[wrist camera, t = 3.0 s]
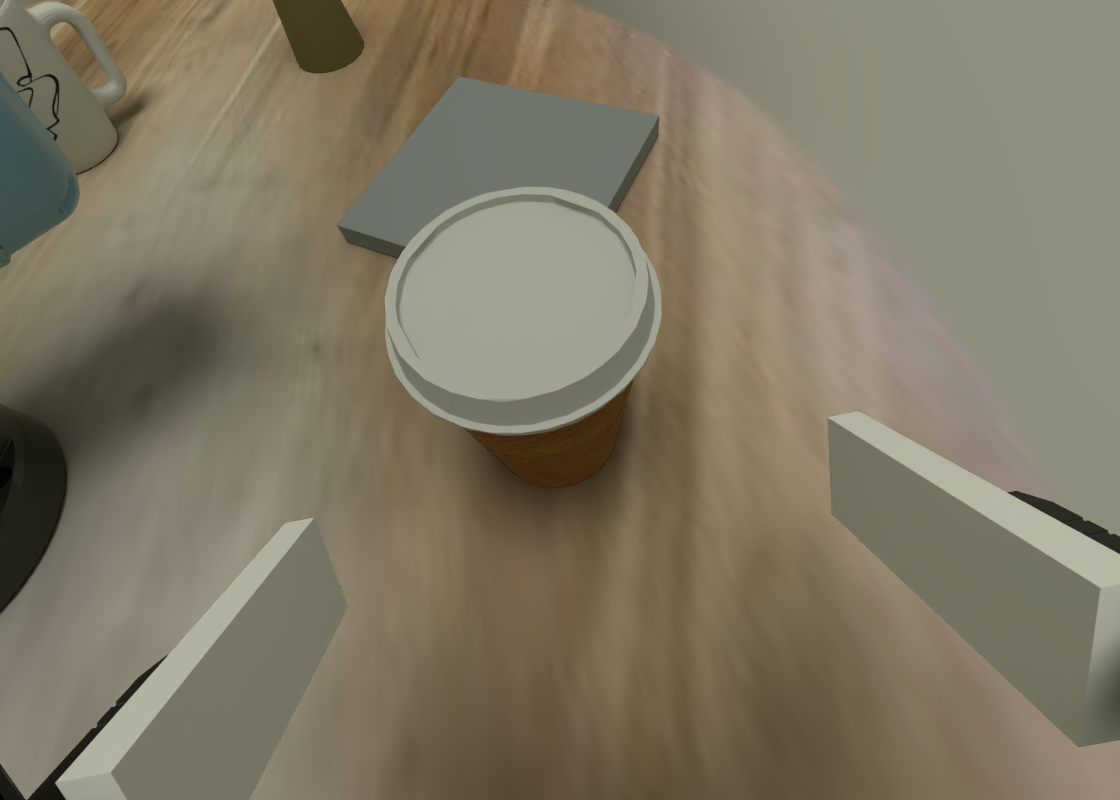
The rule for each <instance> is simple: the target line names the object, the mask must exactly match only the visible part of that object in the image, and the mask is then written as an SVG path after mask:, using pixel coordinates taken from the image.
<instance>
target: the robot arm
mask: <svg viewBox="0 0 1120 800" xmlns="http://www.w3.org/2000/svg"><path fill="white" fill-rule="evenodd" d="M79 194H80V192H79V183H78V179H77V176H76V174H75V172H74V169H73V167H72V165H71V164H70V162H69V160H68V159H67V157H66V156H65V154H64V153H63V151H62V150H61V148H60V147H59V146H58V144H57V143H56V141H55V140H54V139H53V137H52V136H51V135H50V133H49V132H48V131H47V130H46V128H45V127H44V126H43V124H42V123H41V122H40V120H39V119H38V118H37V117H36V115H35V114H34V113H33V112H32V110H31V109H30V108H29V106H28V105H27V104H26V103H25V101H24V100H23V99H22V98H21V96H20V95H19V94H18V93H17V91H16V90H15V89H14V88H13V87H12V85H11V84H10V83H9V82H8V80H7V79H6V78H5V77H4V75H3V74H2V73H1V72H0V268H3V267H4V266H6V265H8V264H9V263H10V260H11V255H12V254H13V253H15V252H16V251H18V250H19V249H21V248H22V247H24V246H26V245H27V244H29V243H30V242H32V241H33V240H35V239H36V238H38V237H39V236H41V235H43V234H44V233H46V232H47V231H49V230H50V229H52V228H53V227H55V226H56V225H58V224H60V223H61V222H63V221H64V220H65V219H67V218H68V217H69V216H70V215H71V214H72V213H73V211H74V210H75V208H76V206H77V204H78V201H79ZM828 441H829V465H830V488H831V512H832V515H833V516H834V517H835V518H836V519H838V520H839V521H840V522H841V523H842V524H843V525H844V526H845V527H846V528H847V529H848V530H849V531H850V532H851V533H852V534H853V535H854V536H855V537H857V538H858V539H859V540H860V541H861V542H862V543H863V544H864V545H865V546H866V547H867V548H868V549H869V550H870V551H871V552H872V553H873V554H875V555H876V556H877V557H878V558H879V559H880V560H881V561H882V562H883V563H884V564H885V565H886V566H887V567H888V568H889V569H890V570H891V571H892V572H894V573H895V574H896V575H897V576H898V577H899V578H900V579H901V580H902V581H903V582H904V583H905V584H906V585H907V586H908V587H909V588H910V589H912V590H913V591H914V592H915V593H916V594H917V595H918V596H919V597H920V598H921V599H922V600H923V601H924V602H925V603H926V604H927V605H928V606H929V607H931V608H932V609H933V610H934V611H935V612H936V613H937V614H938V615H939V616H940V617H941V618H942V619H943V620H944V621H945V622H946V623H947V624H949V625H950V626H951V627H952V628H953V629H954V630H955V631H956V632H957V633H958V634H959V635H960V636H961V637H962V638H963V639H964V640H965V641H966V642H968V643H969V644H970V645H971V646H972V647H973V648H974V649H975V650H976V651H977V652H978V653H979V654H980V655H981V656H982V657H983V658H984V659H985V660H987V661H988V662H989V663H990V664H991V665H992V666H993V667H994V668H995V669H996V670H997V671H998V672H999V673H1000V674H1001V675H1002V676H1003V677H1005V678H1006V679H1007V680H1008V681H1009V682H1010V683H1011V684H1012V685H1013V686H1014V687H1015V688H1016V689H1017V690H1018V691H1019V692H1020V693H1021V694H1022V695H1024V696H1025V697H1026V698H1027V699H1028V700H1029V701H1030V702H1031V703H1032V704H1033V705H1034V706H1035V707H1036V708H1037V709H1038V710H1039V711H1040V712H1042V713H1043V714H1044V715H1045V716H1046V717H1047V718H1048V719H1049V720H1050V721H1051V722H1052V723H1053V724H1054V725H1055V726H1056V727H1057V728H1058V729H1059V730H1061V731H1062V732H1063V733H1064V734H1065V735H1066V736H1067V737H1068V738H1069V739H1070V740H1071V741H1072V742H1073V743H1074V744H1075V745H1076V746H1077V747H1082V746H1088V745H1094V744H1099V743H1105V742H1110V741H1116V740H1120V537H1119V536H1118V535H1116V534H1111V535H1110V534H1109V533H1108V530H1106V529H1104V528H1102V527H1100V526H1098V525H1096V524H1094V523H1092V522H1090V521H1084V520H1083V518H1082V517H1081V516H1079V515H1077V514H1075V513H1073V512H1071V511H1069V510H1067V509H1065V508H1063V507H1061V506H1059V505H1057V504H1056V503H1054V502H1051V501H1048V500H1045V499H1041V498H1038V497H1035V496H1031V495H1028V494H1025V493H1022V492H1018V491H1013V492H1008V493H1007V492H1005V491H1003V490H1001V489H999V488H997V487H996V486H994V485H992V484H990V483H988V482H987V481H985V480H983V479H981V478H979V477H977V476H976V475H974V474H972V473H970V472H968V471H966V470H965V469H963V468H961V467H959V466H957V465H955V464H954V463H952V462H950V461H948V460H946V459H944V458H943V457H941V456H939V455H937V454H935V453H933V452H932V451H930V450H928V449H926V448H924V447H922V446H921V445H919V444H917V443H915V442H913V441H911V440H910V439H908V438H906V437H904V436H902V435H901V434H899V433H897V432H895V431H893V430H891V429H890V428H888V427H886V426H884V425H882V424H880V423H879V422H877V421H875V420H873V419H871V418H869V417H868V416H866V415H864V414H862V413H860V412H858V411H857V412H852V413H847V414H842V415H837V416H832V417H828ZM64 483H65V470H64V461H63V456H62V452H61V449H60V447H59V444H58V442H57V440H56V439H55V437H54V436H53V434H52V433H51V432H50V431H49V429H48V428H47V427H46V426H44V425H43V424H42V423H41V422H39V421H37V420H36V419H34V418H32V417H30V416H27V415H25V414H23V413H20V412H18V411H15V410H13V409H11V408H8V407H6V406H3V405H1V404H0V609H1V608H2V607H3V606H4V605H5V604H6V603H7V601H8V600H9V599H10V598H11V597H12V596H13V594H14V593H15V592H16V591H17V589H18V588H19V587H20V585H21V584H22V583H23V581H24V580H25V578H26V577H27V576H28V574H29V573H30V571H31V570H32V568H33V567H34V565H35V563H36V562H37V560H38V558H39V557H40V555H41V553H42V551H43V549H44V547H45V545H46V543H47V541H48V539H49V537H50V535H51V533H52V530H53V528H54V525H55V523H56V520H57V517H58V514H59V510H60V506H61V502H62V497H63V492H64ZM347 608H348V604H347V602H346V599H345V596H344V594H343V591H342V589H341V586H340V583H339V581H338V578H337V575H336V573H335V570H334V568H333V565H332V562H331V560H330V557H329V554H328V552H327V549H326V547H325V544H324V541H323V539H322V536H321V533H320V531H319V528H318V526H317V523H316V520H315V518H309V519H304V520H299V521H294V522H289V523H285V524H284V525H283V526H282V527H281V528H280V529H279V531H278V532H277V533H276V534H275V535H274V536H273V537H272V539H271V540H270V541H269V542H268V543H267V544H266V545H265V546H264V548H263V549H262V550H261V551H260V552H259V553H258V554H257V555H256V557H255V558H254V559H253V560H252V561H251V562H250V563H249V564H248V566H247V567H246V568H245V569H244V570H243V571H242V572H241V574H240V575H239V576H238V577H237V578H236V579H235V580H234V581H233V583H232V584H231V585H230V586H229V587H228V588H227V589H226V590H225V592H224V593H223V594H222V595H221V596H220V597H219V598H218V600H217V601H216V602H215V603H214V604H213V605H212V606H211V607H210V609H209V610H208V611H207V612H206V613H205V614H204V615H203V616H202V618H201V619H200V620H199V621H198V622H197V623H196V624H195V625H194V627H193V628H192V629H191V630H190V631H189V632H188V633H187V635H186V636H185V637H184V638H183V639H182V640H181V641H180V642H179V644H178V645H177V646H176V647H175V648H174V649H173V650H172V651H171V653H170V654H169V655H166V656H165V657H164V658H163V659H161V660H160V661H159V662H158V663H156V664H155V665H154V666H152V667H151V668H150V669H149V670H147V671H146V672H145V673H144V674H142V675H141V676H140V677H138V679H137V680H136V681H135V682H134V683H133V684H132V685H131V686H130V687H129V688H128V690H127V691H126V692H125V693H124V694H123V695H122V696H121V697H120V698H119V699H118V701H117V702H116V706H115V707H111V708H110V709H109V710H108V712H107V713H106V714H105V715H104V716H103V717H102V718H101V719H100V720H99V721H98V723H97V727H96V728H92V729H91V730H90V731H89V733H88V734H87V735H86V736H85V737H84V738H83V739H82V740H81V741H80V742H79V744H78V745H77V746H76V747H75V748H74V749H73V750H72V751H71V752H70V753H69V755H68V756H67V757H66V758H65V759H64V760H63V761H62V762H61V763H60V764H59V766H58V767H57V768H56V769H55V770H54V771H53V772H52V773H51V774H50V775H49V777H48V778H47V779H46V780H45V781H44V782H43V783H42V784H41V785H40V786H39V788H38V789H37V790H36V791H35V792H34V793H33V794H32V795H31V796H30V797H29V799H28V800H249V798H250V796H251V794H252V792H253V790H254V788H255V786H256V785H257V783H258V781H259V779H260V777H261V775H262V773H263V771H264V769H265V767H266V765H267V763H268V761H269V759H270V757H271V755H272V753H273V752H274V750H275V748H276V746H277V744H278V742H279V740H280V738H281V736H282V734H283V732H284V730H285V728H286V726H287V724H288V722H289V720H290V719H291V717H292V715H293V713H294V711H295V709H296V707H297V705H298V703H299V701H300V699H301V697H302V695H303V693H304V691H305V689H306V687H307V686H308V684H309V682H310V680H311V678H312V676H313V674H314V672H315V670H316V668H317V666H318V664H319V662H320V660H321V658H322V656H323V654H324V653H325V651H326V649H327V647H328V645H329V643H330V641H331V639H332V637H333V635H334V633H335V631H336V629H337V627H338V625H339V623H340V621H341V620H342V618H343V616H344V614H345V612H346V610H347ZM0 800H25V798H24V797H23V795H22V794H21V793H20V791H19V790H18V788H17V787H16V785H15V784H14V783H13V781H12V780H11V778H10V777H9V775H8V774H7V773H6V771H5V770H4V768H3V767H2V766H1V764H0Z"/></svg>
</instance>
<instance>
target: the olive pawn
mask: <svg viewBox="0 0 1120 800" xmlns="http://www.w3.org/2000/svg"><path fill="white" fill-rule="evenodd" d="M273 2H274V5H275V7H276V10H277V12H278V15H279V17H280V20H281V22H282V25H283V27H284V30H285V32H286V35H287V37H288V40H289V42H290V45H291V47H292V50H293V52H294V55H295V57H296V60H297V62H298V64H299V66H300V67H301V68H302V69H303V70H305V71H308V72H312V73H326V72H330V71H335V70H337V69H340V68H342V67H345V66H347V65H348V64H350V63H351V62H353V61H354V60H355V59H356V58H357V57H358V56H359V55H360V54H361V52H362V50H363V48H364V41H363V39H362V38H361V36H360V34H359V32H358V30H357V28H356V27H355V25H354V23H353V21H352V19H351V18H350V16H349V14H348V12H347V10H346V9H345V7H344V5H343V3H342V1H341V0H273Z"/></svg>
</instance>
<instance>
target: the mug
mask: <svg viewBox="0 0 1120 800" xmlns="http://www.w3.org/2000/svg"><path fill="white" fill-rule="evenodd" d="M60 22H67V23H69V24H70V25H71V26H72V27H73V28H74V29H75V30H76V31H77V33H78V34H79V35H80V37H81V38H82V39H83V41H84V42H85V44H86V45H87V47H88V48H89V50H90V51H91V53H92V54H93V56H94V58H95V59H96V61H97V62H98V63H99V65H100V66H101V68H102V69H103V71H104V72H105V74H106V76H107V79H108V82H107V84H106V85H105V86H103V87H100V88H91V87H89V86H87V85H86V84H85V83H84V82H83V81H82V80H81V79H80V78H79V76H78V75H77V74H76V72H75V71H74V70H73V68H72V67H71V66H70V64H69V63H68V62H67V61H66V59H65V58H64V57H63V55H62V54H61V53H60V52H59V50H58V49H57V48H56V46H55V45H54V43H53V41H52V39H51V37H50V30H51V28H52V27H53V26H54V25H55V24H57V23H60ZM0 72H1V73H2V74H3V75H4V77H5V78H6V79H7V80H8V82H9V83H10V84H11V85H12V87H13V88H14V89H15V90H16V91H17V93H18V94H19V95H20V96H21V98H22V99H23V100H24V101H25V103H26V104H27V105H28V106H29V108H30V109H31V110H32V112H33V113H34V114H35V115H36V117H37V118H38V119H39V120H40V122H41V123H42V124H43V126H44V127H45V128H46V130H47V131H48V132H49V133H50V135H51V136H52V137H53V139H54V140H55V141H56V143H57V144H58V146H59V147H60V148H61V150H62V151H63V153H64V154H65V156H66V157H67V159H68V160H69V162H70V164H71V165H72V167H73V169H74V172H75V174H77V173H80V172H83V171H86V170H88V169H90V168H92V167H94V166H95V165H97V164H99V163H100V162H101V161H103V160H104V159H105V158H106V157H107V156H108V155H109V154H110V153H111V152H112V150H113V149H114V147H115V146H116V143H117V132H116V130H115V128H114V126H113V125H112V123H111V121H110V120H109V118H108V117H107V115H106V113H105V109H106V107H108V106H110V105H112V104H114V103H116V102H118V101H119V100H121V99H122V98H123V97H124V95H125V93H126V90H127V82H126V79H125V77H124V75H123V73H122V71H121V70H120V68H119V67H118V65H117V64H116V62H115V60H114V59H113V57H112V56H111V54H110V52H109V50H108V49H107V47H106V45H105V43H104V42H103V40H102V38H101V36H100V35H99V33H98V32H97V30H96V29H95V27H94V26H93V25H92V24H91V22H90V21H89V20H88V19H87V18H86V17H85V16H84V15H83V14H82V13H81V12H80V11H78V10H76V9H75V8H73V7H71V6H68V5H65V4H62V3H57V2H46V3H42V4H39V5H37V6H35V7H33V8H31V9H25V8H24V7H22V6H21V5H20V4H19V3H18V2H17V1H16V0H0Z"/></svg>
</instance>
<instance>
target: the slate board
mask: <svg viewBox="0 0 1120 800" xmlns="http://www.w3.org/2000/svg"><path fill="white" fill-rule="evenodd" d="M658 129H659V116H657V115H652V114H647V113H641V112H636V111H631V110H626V109H621V108H616V107H611V106H606V105H601V104H596V103H591V102H585V101H580V100H575V99H570V98H565V97H560V96H555V95H550V94H545V93H540V92H535V91H529V90H524V89H519V88H514V87H509V86H504V85H499V84H494V83H489V82H484V81H479V80H474V79H468V78H463V77H458V78H457V80H456V81H455V82H454V83H453V85H452V86H451V87H450V88H449V89H448V91H447V92H446V93H445V94H444V95H443V97H442V98H441V99H440V100H439V102H438V103H437V104H436V105H435V106H434V108H433V109H432V110H431V111H430V112H429V114H428V115H427V116H426V117H425V119H424V120H423V121H422V122H421V123H420V125H419V126H418V127H417V128H416V129H415V131H414V132H413V133H412V134H411V136H410V137H409V138H408V139H407V140H406V142H405V143H404V144H403V145H402V147H401V148H400V149H399V150H398V151H397V153H396V154H395V155H394V156H393V157H392V159H391V160H390V161H389V162H388V164H387V165H386V166H385V167H384V168H383V170H382V171H381V172H380V173H379V174H378V176H377V177H376V178H375V179H374V181H373V182H372V183H371V184H370V185H369V187H368V188H367V189H366V190H365V191H364V193H363V194H362V195H361V196H360V198H359V199H358V200H357V201H356V202H355V204H354V205H353V206H352V207H351V209H350V210H349V211H348V212H347V213H346V215H345V216H344V217H343V218H342V219H341V221H340V222H339V223H338V224H337V226H338V228H339V229H340V231H341V232H342V234H343V236H344V237H345V239H346V240H347V242H350V243H353V244H356V245H359V246H362V247H365V248H368V249H371V250H375V251H378V252H381V253H384V254H387V255H390V256H393V257H396V258H399V257H400V255H401V253H402V252H403V250H404V249H405V248H406V246H407V245H408V244H409V242H410V241H411V240H412V239H413V238H414V237H415V236H416V235H417V234H418V233H419V232H420V231H421V230H422V229H423V228H424V227H425V226H426V225H427V224H429V223H430V222H431V221H433V220H434V219H435V218H437V217H438V216H439V215H441V214H442V213H444V212H445V211H446V210H448V209H450V208H452V207H454V206H456V205H458V204H460V203H462V202H464V201H466V200H469V199H471V198H474V197H477V196H480V195H482V194H485V193H490V192H496V191H502V190H507V189H513V188H519V187H549V188H556V189H563V190H567V191H571V192H574V193H577V194H581V195H584V196H586V197H588V198H591V199H593V200H595V201H598V202H599V203H601V204H602V205H604V206H605V207H607V208H608V209H610V210H612V211H613V212H615V213H616V211H617V209H618V207H619V206H620V204H621V202H622V200H623V198H624V197H625V195H626V193H627V191H628V189H629V188H630V186H631V184H632V182H633V180H634V178H635V177H636V175H637V173H638V171H639V169H640V168H641V166H642V164H643V162H644V160H645V159H646V157H647V155H648V153H649V151H650V150H651V148H652V146H653V144H654V142H655V141H656V139H657V137H658Z"/></svg>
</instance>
